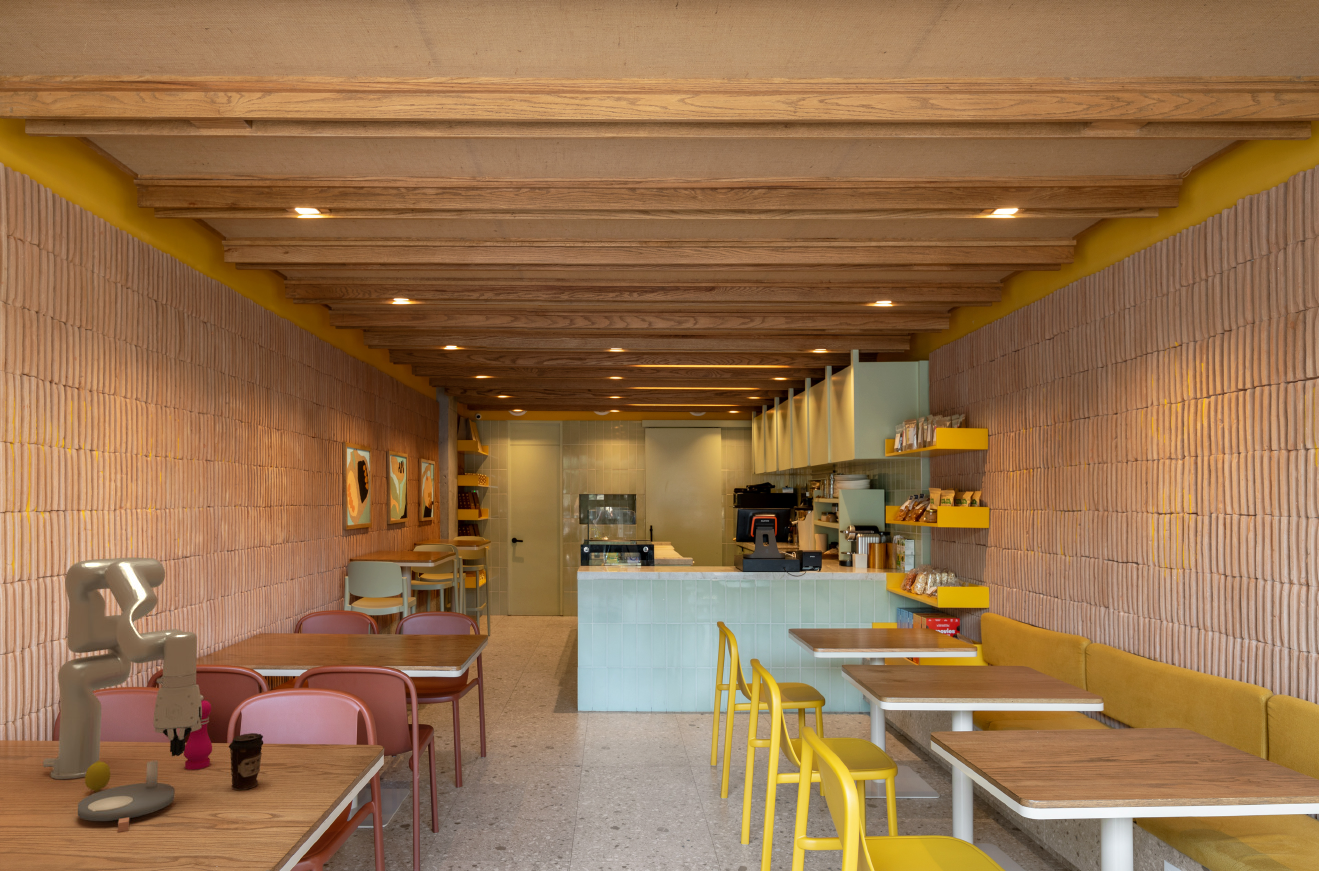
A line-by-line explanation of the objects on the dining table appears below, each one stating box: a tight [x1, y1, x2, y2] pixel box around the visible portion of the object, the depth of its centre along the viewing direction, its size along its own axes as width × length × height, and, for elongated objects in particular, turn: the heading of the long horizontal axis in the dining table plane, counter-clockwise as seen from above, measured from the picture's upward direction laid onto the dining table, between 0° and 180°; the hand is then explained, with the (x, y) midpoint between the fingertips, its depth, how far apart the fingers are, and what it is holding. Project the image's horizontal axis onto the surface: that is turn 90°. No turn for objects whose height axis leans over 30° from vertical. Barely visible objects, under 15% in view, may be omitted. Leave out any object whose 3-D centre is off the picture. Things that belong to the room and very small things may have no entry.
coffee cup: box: [228, 732, 264, 791], centre depth 222 cm, size 9×8×13 cm
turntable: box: [77, 760, 176, 822], centre depth 204 cm, size 20×20×8 cm
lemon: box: [84, 760, 111, 793], centre depth 217 cm, size 6×6×8 cm
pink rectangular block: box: [117, 817, 130, 833], centre depth 193 cm, size 3×2×2 cm, turn 29°
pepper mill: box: [183, 694, 213, 771], centre depth 239 cm, size 7×7×20 cm
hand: (177, 754), depth 213 cm, fingers closed
